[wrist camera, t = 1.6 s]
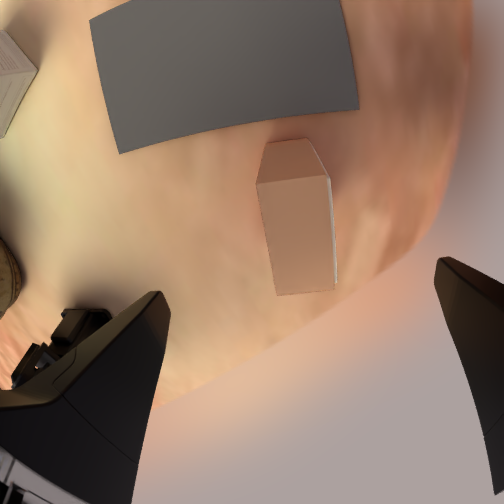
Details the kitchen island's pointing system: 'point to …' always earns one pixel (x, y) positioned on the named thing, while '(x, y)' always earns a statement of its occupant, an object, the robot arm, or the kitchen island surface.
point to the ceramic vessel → (8, 279)
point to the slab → (297, 217)
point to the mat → (219, 65)
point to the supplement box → (12, 78)
